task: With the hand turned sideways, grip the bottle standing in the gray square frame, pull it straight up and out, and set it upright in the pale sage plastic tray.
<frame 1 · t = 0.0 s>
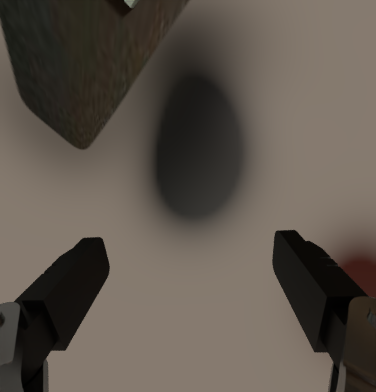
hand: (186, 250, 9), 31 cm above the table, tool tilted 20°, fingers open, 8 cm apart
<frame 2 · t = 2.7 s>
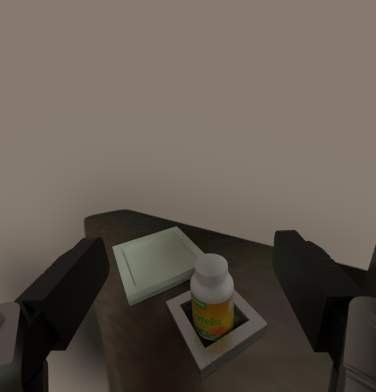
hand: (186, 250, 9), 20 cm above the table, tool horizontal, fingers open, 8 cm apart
sage tray: (159, 261, 40), on the table
gray square frame: (213, 321, 27), on the table
supplement bottle: (213, 322, 27), resting in gray square frame
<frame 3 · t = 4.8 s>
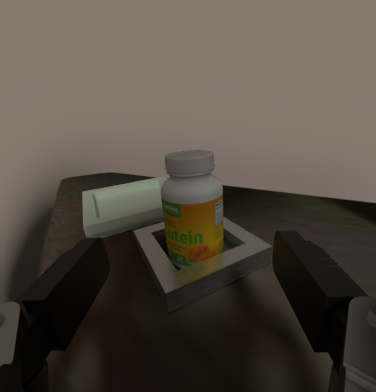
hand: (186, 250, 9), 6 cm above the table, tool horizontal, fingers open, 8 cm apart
sage tray: (136, 205, 32), on the table
gray square frame: (195, 253, 20), on the table
supplement bottle: (195, 255, 20), resting in gray square frame
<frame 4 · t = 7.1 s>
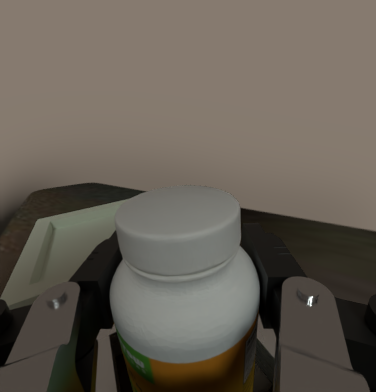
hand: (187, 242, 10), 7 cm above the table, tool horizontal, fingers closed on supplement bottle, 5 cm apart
sage tray: (110, 242, 23), on the table
gray square frame: (194, 384, 10), on the table
supplement bottle: (195, 387, 10), resting in gray square frame, touching gripper
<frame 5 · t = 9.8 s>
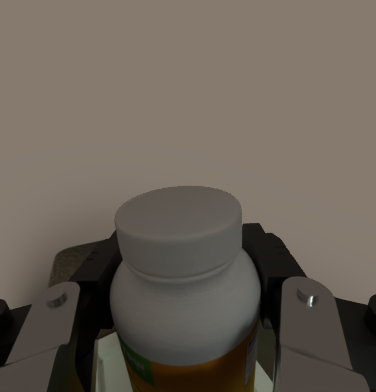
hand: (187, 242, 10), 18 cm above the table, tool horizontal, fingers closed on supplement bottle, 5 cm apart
supplement bottle: (195, 388, 10), point 11 cm above the table, touching gripper
when the fingers open (8 cm above the table, at t = 12.4 s): supplement bottle drops 1 cm, resting on sage tray.
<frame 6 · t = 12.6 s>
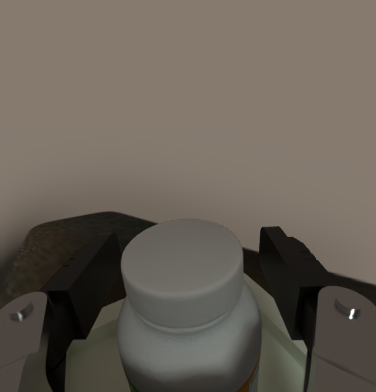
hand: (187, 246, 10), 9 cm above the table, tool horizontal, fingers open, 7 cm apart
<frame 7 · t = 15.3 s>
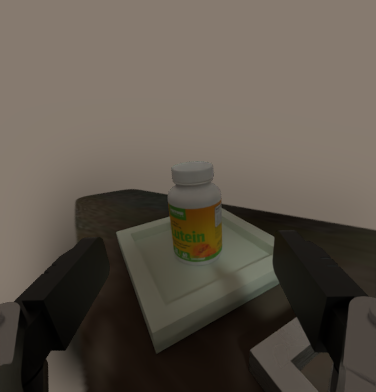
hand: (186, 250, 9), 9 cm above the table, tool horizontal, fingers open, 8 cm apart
sage tray: (197, 256, 23), on the table
supplement bottle: (198, 252, 22), point 1 cm above the table, touching sage tray
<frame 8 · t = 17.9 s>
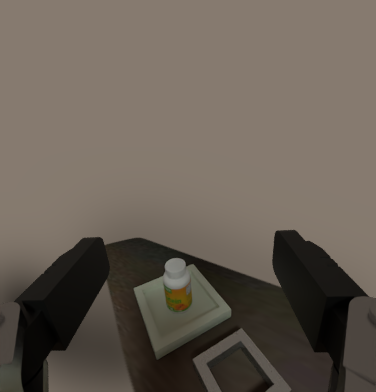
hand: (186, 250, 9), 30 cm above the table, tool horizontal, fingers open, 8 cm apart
sage tray: (179, 305, 42), on the table
gray square frame: (238, 381, 29), on the table
supplement bottle: (179, 303, 41), point 1 cm above the table, touching sage tray
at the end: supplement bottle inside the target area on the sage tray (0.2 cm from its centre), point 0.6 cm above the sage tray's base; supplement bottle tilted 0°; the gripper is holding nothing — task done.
